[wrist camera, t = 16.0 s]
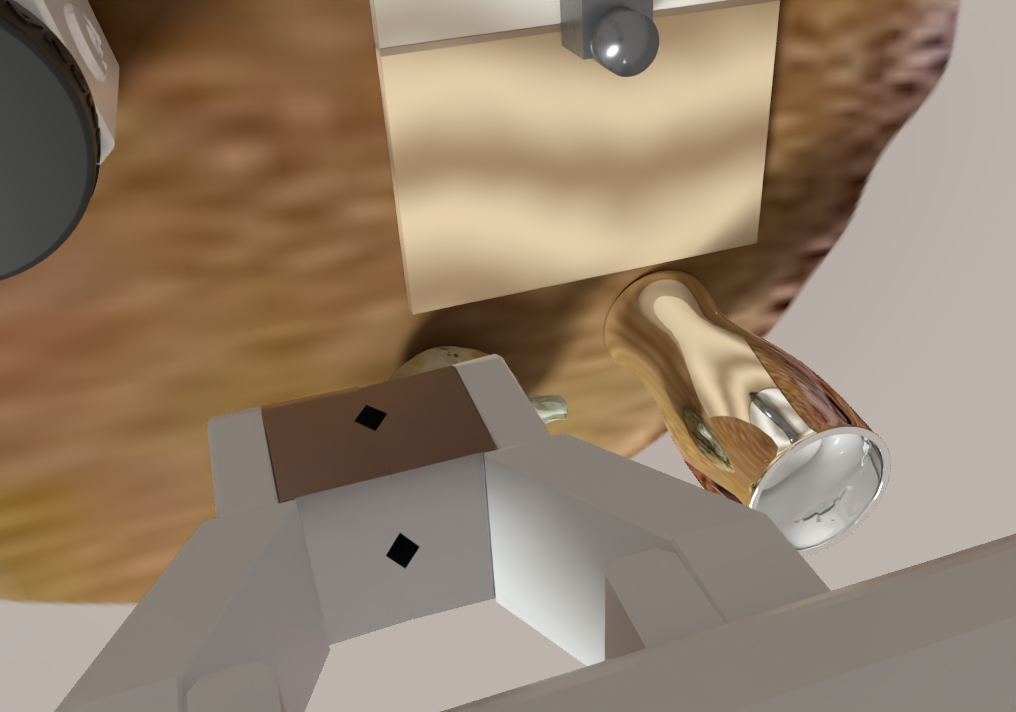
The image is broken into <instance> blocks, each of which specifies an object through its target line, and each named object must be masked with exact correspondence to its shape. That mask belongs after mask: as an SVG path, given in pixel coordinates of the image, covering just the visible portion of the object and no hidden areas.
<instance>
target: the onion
mask: <svg viewBox="0 0 1016 712" xmlns="http://www.w3.org/2000/svg"><path fill="white" fill-rule="evenodd" d="M488 355H489V354H486V353H484V352H482V351H479V350H476V349H470V348H462V347H456V346H443V347H436V348H432V349H428V350H426V351H424V352H422V353H420V354H418V355H416V356H415V357H414V358H412V359H411V360H409V361H408V362H406V363H405V364H403V365H402V366H401V367H400V368H399V369H398V370H397V371H396V372H395V373H394V374H393V375H392V376H391V377H390V379H389V380H388V381H390V380H394V379H398V378H403V377H407V376H411V375H415V374H419V373H423V372H427V371H431V370H435V369H439V368H443V367H447V366H451V365H453V364H457V363H461V362H465V361H469V360H473V359H477V358H480V357H484V356H488ZM512 374H513V375H514V377H515V379H516V380H517V382H518V383H519V385H520V387H521V388H522V390H523V391H524V393H525V394H526V392H525V390H524V388H523V386H522V384H521V382H520V380H519V379H518V377H517V376H516V375H515V374H514V373H513V372H512ZM526 396H527V394H526ZM527 398H528V399H529V401H530V402H531V404H532V406H533V407H534V409H535V410H536V412H537V414H538V415H539V417H540V418H541V420H542V421H543V423H544V424H545V423H548V422H551V421H554V420H564V419H566V418H567V414H566V413H567V404H566V402H565V400H564V399H563V398H562V397H561V396H559V395H547V396H537V395H531V396H528V397H527Z"/></svg>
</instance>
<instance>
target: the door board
mask: <svg viewBox="0 0 1016 712" xmlns="http://www.w3.org/2000/svg"><path fill="white" fill-rule="evenodd" d="M780 1H781V0H653V22H654V24H655V25H656V27H657V29H658V33H659V48H658V52H657V55H656V57H655V59H654V61H653V62H652V63H651V65H650V66H649V67H648V68H647V69H646V70H645V71H643V72H642V73H640V74H638V75H636V76H632V77H621V76H618V75H616V74H614V73H612V72H611V71H609V70H608V69H606V68H605V67H603V66H601V65H600V64H598V63H597V62H595V61H594V60H592V59H586V60H583V59H581V58H580V57H578V56H577V55H575V54H574V53H572V52H571V51H569V50H568V49H566V48H565V47H563V46H562V40H561V17H560V0H370V7H371V15H372V23H373V31H374V39H375V47H376V55H377V63H378V71H379V78H380V86H381V94H382V102H383V110H384V118H385V126H386V134H387V142H388V150H389V157H390V165H391V173H392V181H393V189H394V197H395V205H396V213H397V221H398V229H399V236H400V244H401V252H402V260H403V268H404V276H405V284H406V292H407V300H408V305H409V307H410V309H411V311H412V313H413V314H418V313H423V312H428V311H432V310H437V309H442V308H447V307H452V306H456V305H461V304H466V303H471V302H476V301H480V300H485V299H490V298H495V297H500V296H505V295H509V294H514V293H519V292H524V291H529V290H533V289H538V288H543V287H548V286H553V285H558V284H562V283H567V282H572V281H577V280H582V279H586V278H591V277H596V276H601V275H606V274H610V273H615V272H620V271H625V270H630V269H635V268H639V267H644V266H649V265H654V264H659V263H663V262H668V261H673V260H678V259H683V258H688V257H692V256H697V255H702V254H707V253H712V252H716V251H721V250H726V249H731V248H736V247H741V246H745V245H750V244H755V243H757V238H758V227H759V217H760V206H761V196H762V185H763V175H764V164H765V154H766V143H767V133H768V122H769V112H770V101H771V91H772V80H773V70H774V59H775V49H776V38H777V28H778V17H779V7H780Z"/></svg>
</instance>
